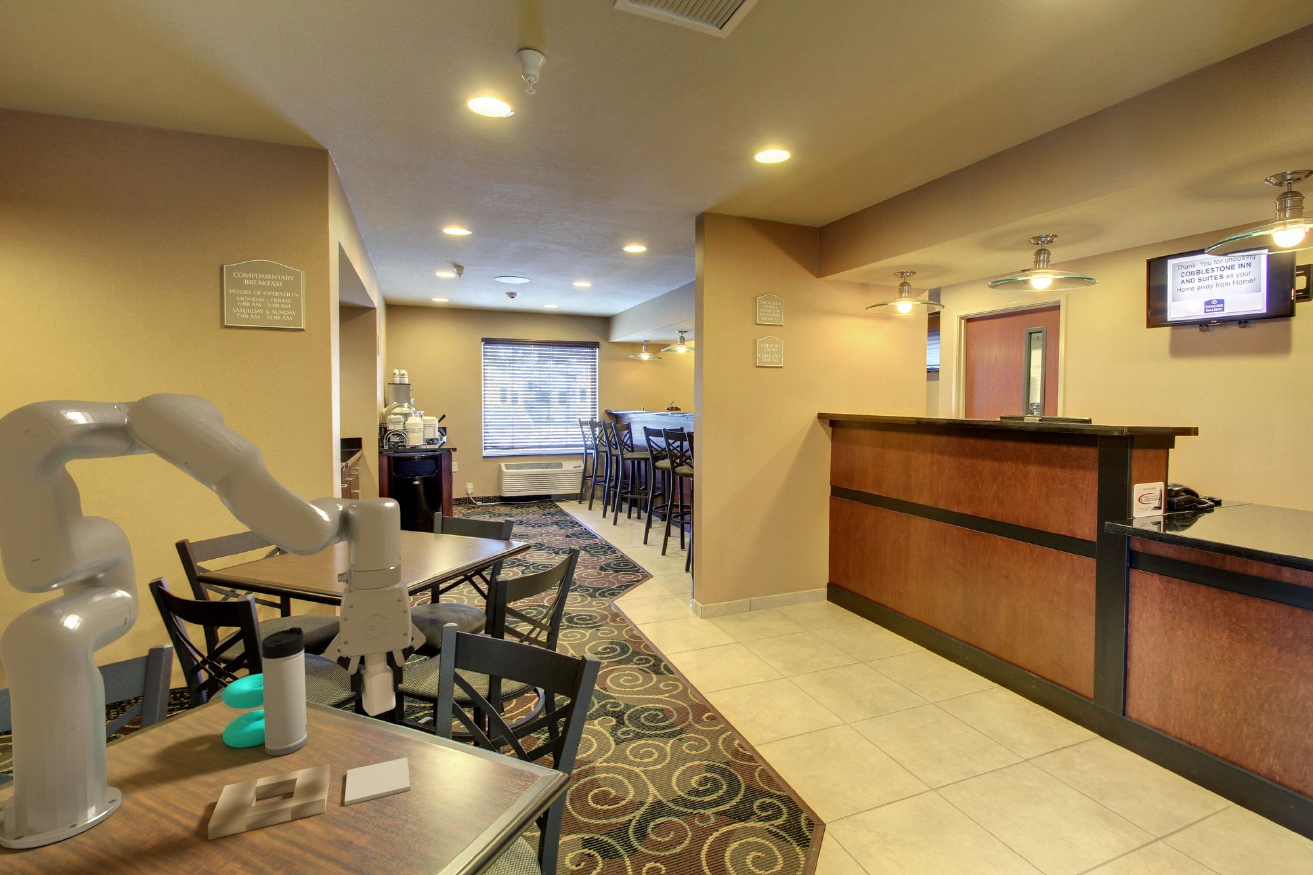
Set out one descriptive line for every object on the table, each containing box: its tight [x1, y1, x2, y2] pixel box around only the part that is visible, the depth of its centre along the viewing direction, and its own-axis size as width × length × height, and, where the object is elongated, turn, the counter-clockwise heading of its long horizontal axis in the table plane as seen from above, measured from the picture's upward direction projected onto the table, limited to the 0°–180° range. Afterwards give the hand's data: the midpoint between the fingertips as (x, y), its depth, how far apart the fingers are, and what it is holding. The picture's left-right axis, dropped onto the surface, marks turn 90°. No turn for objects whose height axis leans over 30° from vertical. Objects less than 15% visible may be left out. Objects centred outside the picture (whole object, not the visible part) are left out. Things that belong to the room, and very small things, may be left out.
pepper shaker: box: [361, 652, 396, 717], centre depth 95 cm, size 4×4×10 cm
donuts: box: [221, 672, 265, 748], centre depth 110 cm, size 10×10×10 cm
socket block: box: [207, 763, 331, 841], centre depth 90 cm, size 14×10×2 cm
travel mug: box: [261, 626, 308, 757], centre depth 106 cm, size 6×7×20 cm
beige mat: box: [344, 757, 411, 806], centre depth 96 cm, size 9×9×1 cm
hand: (377, 691), depth 95 cm, fingers closed on pepper shaker, 4 cm apart
